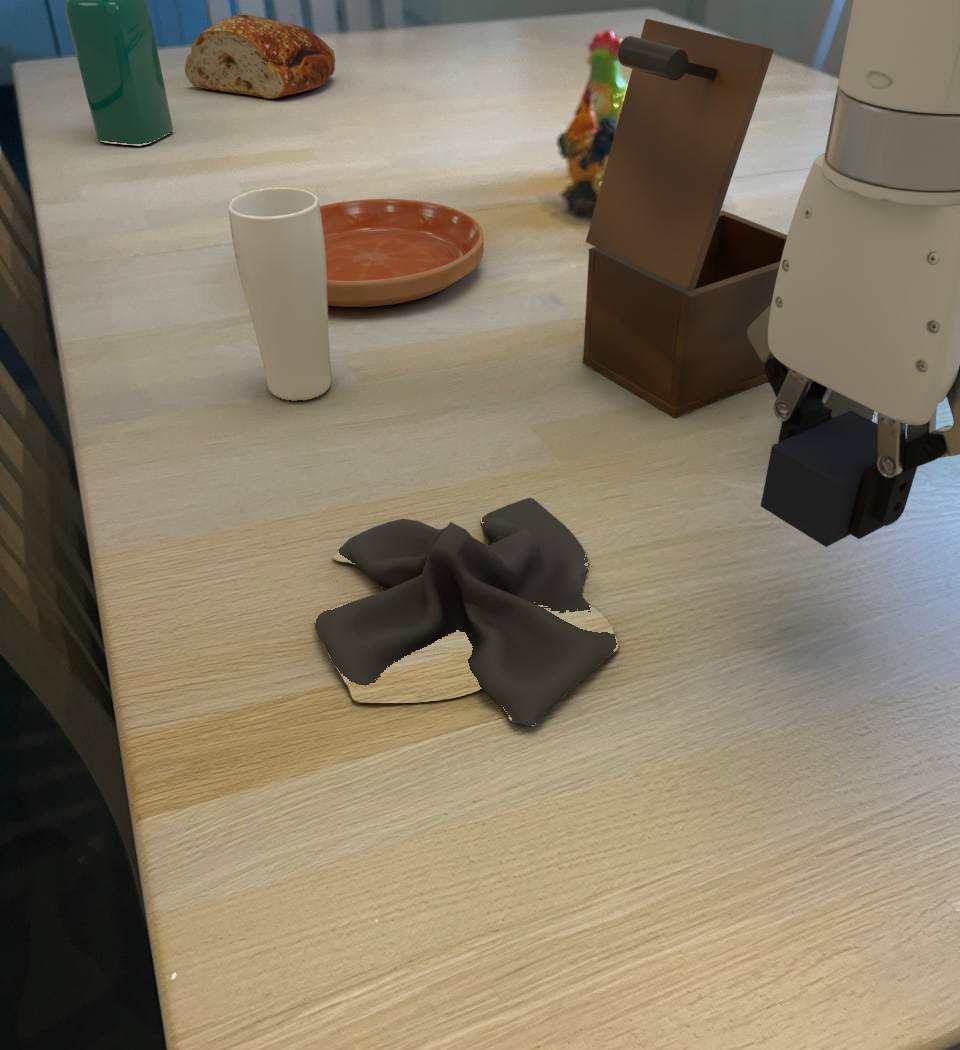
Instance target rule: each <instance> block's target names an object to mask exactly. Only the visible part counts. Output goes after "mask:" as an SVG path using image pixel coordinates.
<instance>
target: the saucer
mask: <svg viewBox="0 0 960 1050" xmlns="http://www.w3.org/2000/svg"><path fill="white" fill-rule="evenodd" d="M319 206H320V212H321V217H322V224H323V231H324V239H325V250H326V267H327V298H328V306H331V307H343V308H366V307H369V308H371V307H381V306H382V307H383V306H390V305H396V304H403V303H406V302H411V301H414V300H419V299H422V298H425V297H429V296H432V295H434V294H436V293H439V292H441V291H443V290H445V289H447V288H449V287H451V286H452V285H454V284H455V283H456V282H457V281H459V280H461V279H462V278H464V277H466V276H467V275H469V274H470V273H471V272H472V271H474V270H475V268H477V267H478V265H480V262H481V260H482V258H483V257H484V256H483V255H484V236H485V235H484V230H483V227H482V226H481V224H480V223H479V222H478V221H477V220H476V219H475V218H474V217H472V216H471V215H470V214H468V213H465V211H461V210H459V209H456V208H455V207H451V206H447V205H443V204H440V203H436V202H430V201H422V200H416V199H406V198H405V199H403V198H402V199H401V198H371V199H370V198H368V199H355V200H346V201H339V202H334V203H328V204H323V205H319Z"/></svg>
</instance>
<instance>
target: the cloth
mask: <svg viewBox="0 0 960 1050" xmlns="http://www.w3.org/2000/svg"><path fill="white" fill-rule="evenodd" d="M481 518H482V522H484V523H483V525H482V529H483V533H484V536H485V538H486V539H487V541H489V542H490V543H491V544H489V545H487V544H486V543H484V542H482V541H480V540H478V539H477V538H475V537H474V536H472V535H471V534H470V532H468V530H467V529H466V528H463V527H461V526H460V525H458V524H456V523H454V522H453V521H450V522H449V523H448V524H447V526H445V527H443V528H442V529H439V528H436V527H433V526H431V525H428V524H427V523H424V522H421V521H419V520H415V519H408V518H400V519H395V520H391V521H387V522H385V523H382V524H380V525H376V526H373V527H371V528H369V529H366V530H364V531H362V532H360V533H358V534H355V535H354V536H351V537H349V538H348V539H347V540H346V542H344V543H343V544H342V546H341V547H340V548H338V550H339V553H340V555H342V556H344V557H345V558H347V559H348V560H350V561H351V562H352V563H355V564H356V565H355V566H357V568H358V569H360V570H361V572H362V573H363V574H365V576H366V577H367V578H369V579H370V581H372V582H373V583H375V584H376V585H377V586H379V587H381V588H382V589H384V588H385V589H384V590H382V591H381V592H378V593H375V594H371V595H367V596H365V597H362V598H359V599H356V600H352V601H353V602H352V601H350V602H351V603H348V602H347V603H348V604H346V605H343V606H341V607H338V608H335V609H333V610H327V609H326V610H327V611H325V610H323V611H322V612H323V613H322V612H321V613H319V614H320V615H319V614H318V615H319V616H318V615H317V616H318V618H317V619H316V625H315V624H314V625H315V630H316V634H317V633H318V634H317V636H318V639H319V641H320V642H321V643H322V644H323V646H324V648H325V650H326V652H328V653H329V655H330V657H331V659H330V661H331V660H332V661H331V663H332V662H333V663H332V665H333V666H334V665H335V666H336V667H337V668H338V670H339V671H340V673H341V674H343V676H345V677H347V679H349V681H351V682H354V683H356V684H359V685H365V686H366V685H369V684H370V683H375V682H376V680H378V679H377V678H379V677H381V676H380V674H381V673H383V672H384V670H386V668H388V667H390V665H392V664H393V663H395V662H398V660H401V658H404V656H407V655H411V653H412V652H415V651H416V650H420V649H422V648H424V647H427V646H428V645H431V644H432V643H434V642H435V641H437V640H438V639H442V637H445V636H448V634H451V633H454V632H456V630H459V631H460V632H465V633H466V635H467V637H468V638H469V639H468V640H469V641H470V643H471V644H472V646H473V647H472V648H473V650H472V655H471V657H470V658H469V659H468V663H469V666H470V670H471V671H472V673H473V674H474V676H475V677H476V678H477V680H478V682H479V685H480V687H481V688H482V690H483V691H484V692H485V694H487V695H488V696H489V697H490V698H491V699H492V698H493V699H492V700H493V701H495V702H496V701H497V702H498V703H499V704H500V705H502V707H504V709H505V711H507V712H506V713H508V715H510V717H511V718H512V721H514V722H515V723H516V724H519V725H523V726H527V725H528V726H527V727H533V726H532V725H535V723H537V724H538V723H539V722H540V721H541V720H542V719H543V717H544V716H546V715H547V714H548V713H549V712H550V711H551V710H552V709H553V708H554V707H555V706H556V705H557V704H558V703H559V702H560V701H562V699H563V698H565V697H566V696H567V695H568V694H569V693H570V692H572V690H573V689H575V688H576V687H577V686H578V685H579V684H580V682H581V681H582V680H583V679H584V678H586V676H587V675H589V674H590V673H592V672H593V671H594V670H595V669H597V668H598V667H599V666H600V665H601V664H603V663H604V662H605V661H606V660H608V659H609V658H610V657H612V655H613V654H612V653H613V652H614V651H613V650H614V649H615V648H616V645H617V643H616V639H615V635H614V634H610V633H608V632H601V633H598V632H592V631H587V630H583V629H580V628H578V627H576V626H574V625H572V624H570V623H568V622H566V621H564V620H562V619H560V618H559V617H557V616H555V615H554V614H552V613H551V612H549V611H547V610H546V609H544V608H551V610H550V611H560V612H559V613H564V612H566V610H569V612H575V611H584V610H590V608H591V607H589V605H591V604H590V603H589V602H588V601H586V599H585V597H584V596H583V593H584V591H583V590H584V583H585V580H586V577H587V576H588V574H587V573H589V571H588V568H587V567H588V566H585V565H584V564H585V563H587V562H588V561H589V559H588V556H587V557H585V554H586V555H587V553H586V551H585V549H584V547H583V546H582V544H581V543H580V541H579V540H578V539H577V537H576V536H575V535H574V533H573V532H571V530H570V529H569V528H568V527H567V526H566V525H565V524H564V523H563V522H561V521H560V520H559V519H558V518H557V517H555V516H554V515H553V514H552V513H551V512H550V511H548V510H547V508H545V507H544V506H543V505H542V504H541V503H539V502H538V501H537V500H536V499H535V498H532V497H527V498H523V499H521V500H518V501H515V502H512V503H510V504H507V505H504V506H501V507H499V508H497V509H495V510H492V511H490V512H488V513H486V514H485V515H483V517H481ZM584 558H585V560H584ZM588 565H589V566H590V562H589V563H588ZM584 579H585V580H584ZM534 602H535V603H534ZM538 605H543V606H548V607H540V606H538ZM577 609H578V610H577ZM548 610H549V609H548ZM588 612H591V611H588ZM328 653H327V654H328ZM611 654H612V655H611ZM329 655H328V656H329ZM609 656H610V657H609ZM330 657H329V658H330ZM608 657H609V658H608ZM394 661H395V662H394ZM603 661H604V662H603ZM602 662H603V663H602ZM599 664H600V665H599ZM598 665H599V666H598ZM335 666H334V667H335ZM387 666H388V667H387ZM597 666H598V667H597ZM593 669H594V670H593ZM588 673H589V674H588ZM375 679H376V680H375ZM565 695H566V696H565ZM497 702H496V703H497ZM557 702H558V703H557ZM498 703H497V704H498ZM499 704H498V705H499ZM500 705H499V706H500ZM550 709H551V710H550ZM549 710H550V711H549ZM548 711H549V712H548ZM506 713H505V714H506ZM540 719H541V720H540ZM538 721H539V722H538ZM514 722H513V723H514ZM535 726H536V725H535Z"/></svg>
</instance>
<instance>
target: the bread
mask: <svg viewBox="0 0 960 1050" xmlns="http://www.w3.org/2000/svg"><path fill="white" fill-rule="evenodd" d="M335 70H336V56H335V52H334V50H333V48H332V47H330V46H329V45H328V44H327V43H326V42H325V41H324V40H323V39H321V38H320V37H319V36H317V34H315V33H313V32H312V31H309V30H308V29H306V28H305V27H301V26H299V25H296V24H293V23H290V22H289V23H288V22H284V21H278V20H275V19H270V18H267V17H261V16H258V15H257V16H256V15H252V14H251V15H250V14H236V15H233V16H229V17H227V18H223V19H221V20H220V21H218V22H216V23H215V24H214V25H212V26H211V27H209V28H207V29H205V30H202V32H199V34H198V35H197V36H196V37H195V39H194V41H193V42H192V45H191V49H190V53H189V54H188V55H187V57H186V59H185V64H184V74H185V76H186V78H187V80H188V81H189V83H190V84H191V85H192V86H194V87H195V86H196V87H195V88H198V87H203V88H208V89H213V90H212V91H215V90H220V91H219V92H227V93H231V94H232V93H233V94H239V95H246V96H253V97H258V98H264V99H278V98H282V97H286V96H290V95H295V94H300V93H304V92H308V91H311V90H315V89H317V88H320V87H322V86H324V85H325V84H326V83H327V82H328V81H329V79H330V77H331V76H332V75H333V74H334V72H335ZM208 89H207V90H208Z"/></svg>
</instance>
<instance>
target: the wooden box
mask: <svg viewBox="0 0 960 1050" xmlns="http://www.w3.org/2000/svg"><path fill="white" fill-rule="evenodd" d="M787 236H788V234H786V233H784V232H780V231H778V230H775V229H772V228H770V227H767V226H764V225H762V224H760V223H758V222H754V221H752V220H750V219H747V218H744V217H742V216H739V215H736V214H733V213H731V212H728V211H725V210H722V209H721V212H720V215H719V218H718V221H717V224H716V227H715V230H714V233H713V236H712V239H711V242H710V245H709V248H708V251H707V254H706V257H705V260H704V263H703V266H702V269H701V272H700V275H699V278H698V281H697V284H696V287H695V290H686V289H684V288H682V287H680V286H678V285H675V284H673V283H671V282H669V281H667V280H665V279H663V278H661V277H658V276H656V275H654V274H652V273H650V272H648V271H646V270H644V269H641V268H639V267H637V266H635V265H633V264H631V263H629V262H627V261H625V260H622V259H620V258H618V257H616V256H614V255H612V254H610V253H608V252H605V251H603V250H601V249H599V248H597V247H595V246H593V247H589V249H588V264H587V278H586V279H587V280H586V299H585V316H584V317H585V318H584V336H583V351H582V352H583V355H582V364H583V365H585V366H587V367H588V368H590V369H592V370H594V371H595V372H597V373H598V374H600V375H602V376H604V377H606V378H607V379H609V380H610V381H612V382H614V383H615V384H617V385H619V386H621V387H623V388H624V389H625V390H627V391H629V392H631V393H633V394H634V395H636V396H638V397H639V398H640V399H643V400H645V401H646V402H648V403H649V404H651V405H653V406H654V407H656V408H657V409H659V410H662V411H663V412H664V413H666V414H668V415H670V416H672V418H677V417H681V416H682V415H686V414H688V413H690V412H693V411H696V410H698V409H701V408H703V407H706V406H708V405H711V404H713V403H716V402H718V401H721V400H723V399H726V398H729V397H731V396H733V395H736V394H739V393H741V392H744V391H746V390H749V389H752V388H754V387H756V386H759V385H762V384H764V383H766V382H769V380H768V378H767V376H766V373H765V362H762V361H761V359H760V357H759V356H758V354H757V352H756V351H755V349H754V347H753V345H752V344H751V342H750V340H749V338H748V336H747V329H748V327H749V326H750V325H751V324H752V323H753V322H754V321H755V320H756V319H757V318H758V317H759V316H760V315H761V314H762V313H763V312H764V311H765V310H766V309H767V308H768V307H769V306H770V305H771V303H772V298H773V293H774V288H775V283H776V278H777V274H778V270H779V266H780V262H781V258H782V254H783V250H784V247H785V243H786V239H787Z"/></svg>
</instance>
